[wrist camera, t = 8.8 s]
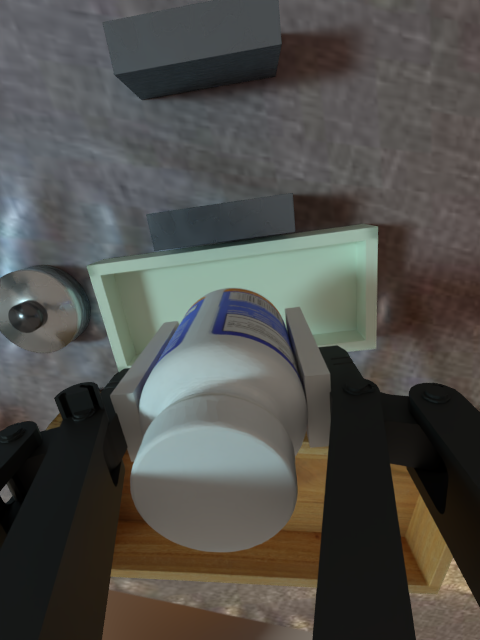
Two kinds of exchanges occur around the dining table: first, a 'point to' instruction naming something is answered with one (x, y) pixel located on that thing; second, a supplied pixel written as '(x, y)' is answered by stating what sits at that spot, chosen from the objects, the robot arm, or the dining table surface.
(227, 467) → the pill bottle
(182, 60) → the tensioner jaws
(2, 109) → the dining table surface
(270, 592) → the dining table surface
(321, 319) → the tray
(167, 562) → the tray
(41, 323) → the silver pot lid
